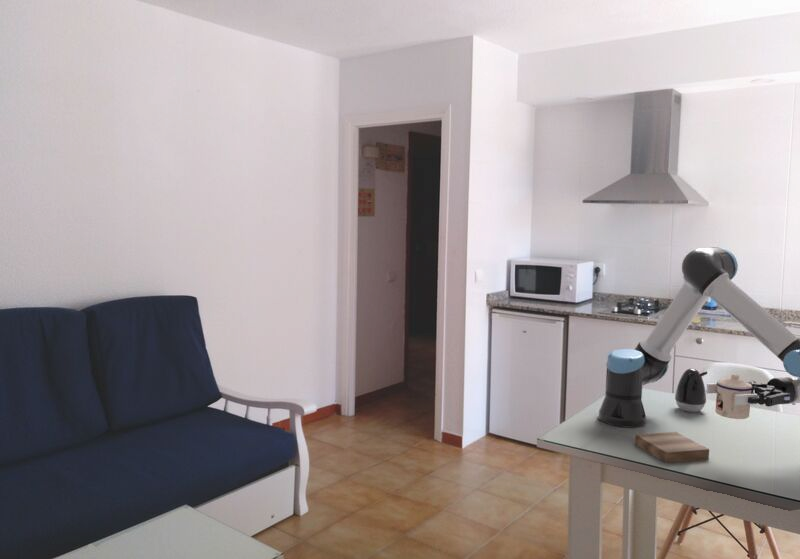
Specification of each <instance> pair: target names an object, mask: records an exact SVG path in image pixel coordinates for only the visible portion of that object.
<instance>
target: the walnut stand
mask: <svg viewBox="0 0 800 559" xmlns="http://www.w3.org/2000/svg"><path fill="white" fill-rule="evenodd" d="M634 444H635V445H636V446H637V447H639V448H641V449H642V450H644V451H645V452H647V453H649V454H651V455H652V456H654V457H655V456H656V457H655V458H656V459H659V460H661V462H664V463H665V464H667V463H668V464H669V463H677V462H678V463H680V462H692V461H705V460H706V461H707V460H709V459H710V458H709V457H710V448H708V447H706V446H705V445H702V444H700V443H698V442H696V441H694V440H693V439H691V438H688V437H687V436H685V435H683V434H681V433H679V432H677V431H669V432H654V433H639V434H638V433H637V434H635V440H634Z"/></svg>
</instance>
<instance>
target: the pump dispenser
mask: <svg viewBox="0 0 800 559" xmlns="http://www.w3.org/2000/svg"><path fill="white" fill-rule="evenodd" d="M706 375H708V371H706V370H705V371H702V372H699V371H698V369H695V368H687V369H685V371H684V372H683V373H682V375H681V377H680V379H679V381H678V383H677V386H676V391H675V394H674V400H675V403H676V405H677V407H678V409H680V410H682V411H683V412H686V413H698V412H701V411H702V410H703V409H704V407H705V406H706V405H705V404H706V403H707V393H706V387H705V383H704V380H703V377H704V376H706Z"/></svg>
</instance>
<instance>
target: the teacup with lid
mask: <svg viewBox="0 0 800 559" xmlns="http://www.w3.org/2000/svg"><path fill="white" fill-rule="evenodd" d="M716 383H717V393H716V398H715V413H716V414H717V415H719V416H720V417H723V418H727V419H735V420H745V419H748V418H749V417H750V409H751V404H749V405H735V399H736V395H740V394H751V390H752V389H753V388H752V385H751V384H750V383H747V382H745V380H743V379H742V378H741V377H740V375H739V374H736V373H732V374H731V376H727V377H726V378H723V379H718V380H717V382H716Z"/></svg>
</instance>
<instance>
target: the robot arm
mask: <svg viewBox="0 0 800 559" xmlns="http://www.w3.org/2000/svg"><path fill="white" fill-rule="evenodd" d="M738 267H739V264H738V260H737V258H736V257H735V254H733V253H732V252H731V251H730V250H728V249H726V248H723V247H718V246H712V247H709V248H705V247H701V248H696V249H694V250H693V249H692V250H691V251H689V252H688V253H687V254H686V255H685V256H684V258H683V260H682V263H681V273H682V276H683V282H684V283H683V285H682V286H681V288H680V289H679V291H678V292H677V294H676V296H675V297H674V298H673V299H672V301H671V303H670V304H669V306H668V307H667V308H666V310H665V312H664V313H663V315H662V316H661V317H660V319H659V321H658V322H657V323H656V325H655V326H654V327H653V329H652V331H651V333H650V334H649V335H648V337H647V338H643V339H641V340H640V341H639V342H638V343H637V345H636V346H635V348H634V349H632V348H622V349H614V350H613V351H610V352H609V353H608V355H607V359H606V365H605V366H606V373H605V393H604V399H603V400H602V404H601V405H600V408H599V411H598V419H599V420H600V421H601V422H603V423H604V424H605V423H606V424H608V425H612V426H616V427H623V428H624V427H625V428H637V427H642V426H645V425H646V423H647V422H646V421H647V416H646V412H645V407H644V404H643V400H642V398H643V386H645V385H647V384H651V383H652V384H653V383H655V382H657V381H659V380H661V379H662V378H663V377H664V376H665V375H666V374H667V372H668V368H669V363H670V362H671V360H672V354H671V352H672V350H674V348H675V346H676V345H677V344H678V343H679V341H680V339H681V338H682V336H683V335H684V334H685V332H686V331H687V329H688V328H689V326H690V325H691V323H693V320H694V319H695V318H696V317H697V315H698V313H699V312H700V311H701V309H702V308H703V306H704V305H705V304H706V302H707V301H708V299H709V298H710V299H711V300H713V302H715V304H717V305H718V306H719V307H721V309H722V310H724V311H725V312H726V314H728V315H730V316H731V318H733V319H734V320H735V321H736V322H737V323H738V324H740V325H741V326H742V327H743V328H744V329H745V330H746V331H748V332H749V334H751V335H752V336H753V337H754V338H756V340H757V341H759V342H760V343H761V345H763V346H764V347H766V348H767V349H768V350H769V351H770V352H771V353H772V354H773V355H774V356H776V357H777V358H778V359H779V361H781V362H782V364H783V367H784V370H785V371H786V373H787V374H788V375H790V376H787V377H773V378H771V379H769V381H767V383H766V382H760V383H758V382H757V381H755V380H750V381H749V380H748V381H747V380H746V381H745V380H744V381H745V382H747V383H750V384H751V385H752V388H753V389H752V390H751V394H740V395H736V399H735V405H749V404H750V405H757V404H759V405H760V406H763V405H765V407H767V408H768V407H770V408H771V407H773V406H776V405H777V406H778V405H790V404H791V405H792V406H795V405H796V404H800V338H798V337H797V336H796V334H794V333H793V332H791V331H790V330H789V329H788V328H787V327H786V326H785V325H784V324H782V323H781V322H780V321H779V320H777V319H776V318H775V317H774V316H773V315H772V314H771V313H769V312H768V311H767V310H766V309H765V308H763V306H761V305H760V304H759V303H758V302H756V301H755V300H754V299H753V298H752V297H751V296H749V295H748V294H747V293H746V292H745V291H744V290H743V289H741V287H739V286H738V285H736V283H734V282H733V281H732V279H734V278H735V276H736V274H737V272H738V270H739V268H738ZM705 391H706V394H717V382H713V383H711V382H710V383H706V388H705Z"/></svg>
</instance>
